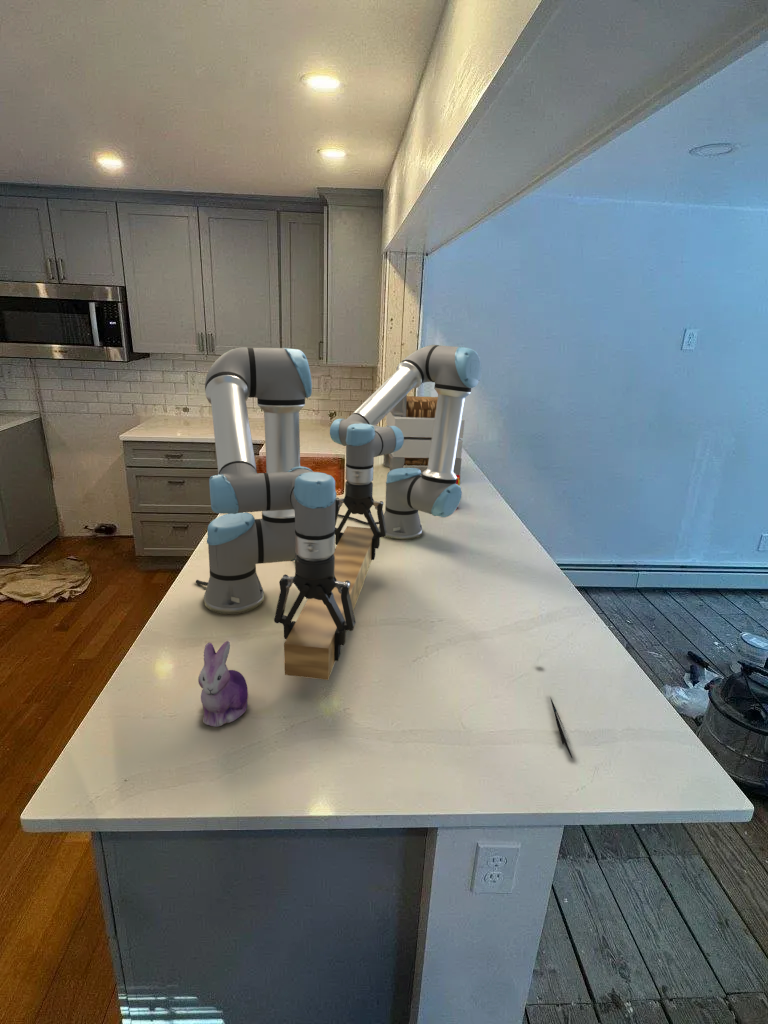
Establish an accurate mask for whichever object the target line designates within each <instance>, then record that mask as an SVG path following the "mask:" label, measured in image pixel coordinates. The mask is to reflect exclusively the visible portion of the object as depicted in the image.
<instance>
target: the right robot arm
mask: <svg viewBox="0 0 768 1024" xmlns="http://www.w3.org/2000/svg"><path fill="white" fill-rule="evenodd" d="M395 368H396V369H395V371H394V373H392V374H391V376H389V377H388V378H387V379H386V380H385V381H384V382H383V383H382V384H381V385H380V386H379V387H378V388H377V389H376V390H375V391H374V392H373V393H372V394H370V395H369V397H368V398H366V400H364V402H362V403H361V404H360V405H359V406H358V407H357V408H356V409H355V410H354V411H353V412H352V413H351V414H350V415H349V416H348V417H347V418H336V419H335V420H333V421H332V423H331V424H330V427H329V436H330V439H331V440H332V442H334V443H335V444H338V445H341V446H343V447H345V480H346V481H345V482H344V483H345V485H344V497H343V498H339V497H336V500H335V546H337V544H338V542H339V541H340V539H341V537H342V535H343V533H344V532H342V530H343V528H344V526H345V524H346V523H347V521H348V520H352V521H356V522H358V523H361V524H364V525H367V526H369V528H371V530H372V532H373V534H374V535H373V538H372V556H371V560H372V561H374V560H375V558H376V549H379V548H380V545H381V544H380V543H381V538H387V539H389V540H395V541H410V540H415V539H418V538H420V537H421V536H422V535H423V525H422V524H421V518H420V515H419V512H422V513H425V514H429V515H432V516H433V517H440V518H447V517H450V516H451V515H453V514H454V512H455V511H456V510H457V509H458V508H459V504H460V503H461V500H462V495H463V492H462V491H463V490H462V487H461V486H460V485H457V484H456V481H457V477H456V475H455V474H454V472H453V471H454V464H455V458H456V452H457V445H458V439H459V433H460V426H461V420H462V419H463V414H464V408H465V407H464V406H465V401H466V398H467V397H468V396H470V394H472V393H471V392H472V389H473V388H476V387H477V386H478V385H479V382H480V381H481V378H482V372H483V371H482V370H483V368H482V361H481V358H480V355H479V353H478V352H477V351H476V350H474V349H473V348H469V347H464V346H453V345H441V344H440V345H439V344H429V345H425V346H423V347H421V348H419V349H416V350H415V351H413V352H412V353H410V354H408V356H405V358H404V359H403V360H401V362H399V364H397V366H396V367H395ZM424 383H434V390H435V392H436V393H437V397H438V399H437V406H436V413H435V420H434V426H433V433H432V440H431V447H430V454H429V460H428V466H426V467H427V468H426V469H424V470H423V471H422V470H421V469H420V468H416V467H404V468H398V469H394V470H391V471H390V470H388V472H387V475H386V480H385V481H386V482H385V504H384V501H383V500H379V501H376V500H374V498H373V493H374V492H373V491H374V490H373V489H374V488H373V487H374V483H373V481H374V463H375V458H377V457H380V456H384V455H385V454H391V453H393V452H395V451H398V450H399V449H401V447H402V445H403V442H404V437H403V433H402V431H401V430H400V429H399V428H398V427H396V426H387V425H386V426H379V425H378V424H379V423H380V422H381V421H382V420H383V419H384V418H386V415H387V414H388V413H389V412H390V411H391V410H392V409H393V408H394V407H395V406H396V405H397V404H398V403H399V402H400V401H401V400H402V399H403V398H404V397H405V396H406V395H407V396H408V394H409V393H410V392H411V391H412V390H413V389H417V388H419V387H420V386H421V385H422V384H424ZM343 504H344V506H345V507H346V508H347V511H346V512H345V514H339V513H340V508H341V507H342V505H343ZM384 505H385V507H384ZM372 507H374V509H375V510H376V515H377V520H378V521H375V519H374V517H373V515H372V512H371V508H372ZM457 507H458V508H457ZM383 508H385V509H384V510H383ZM351 514H352V515H360V516H361V515H362V516H364V518H365V519H366V521H364V520H361V519H358V518H355V517H352V516H351ZM338 517H339V518H342V519H341V521H340V523H339V525H338V527H336V525H337V521H338ZM377 525H378V526H377Z"/></svg>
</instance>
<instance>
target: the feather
mask: <svg viewBox="0 0 768 1024" xmlns="http://www.w3.org/2000/svg"><path fill="white" fill-rule="evenodd" d="M539 669H541V666H540V667H539ZM549 697H550V702H551V706H552V710H553V714H554V718H555V722H556V726H557V729H558V732H559V737H560V740H561V744H562V745H564V746H565V748H566V750H567V751H568V753H569V755H570V757H571V758H573V756H572V753H571V750H570V748H569V745H570V747H572V744H571V740H569V741H568V742H567V740H566V739H567V738H569V735H567V732H566V727H564V723H563V721H562V720H561V717H560V715H559V713H558V710H557V708H556V706H555V704H554V702H553V699H552V697H551V696H549ZM566 735H567V738H566ZM568 743H569V744H568Z"/></svg>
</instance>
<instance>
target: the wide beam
mask: <svg viewBox="0 0 768 1024" xmlns="http://www.w3.org/2000/svg"><path fill="white" fill-rule="evenodd" d="M342 533H343V535H342V537H341V539H340V541H339V542H338V544H337V545H335V552H334V556H335V568H334V575H335V578H336V579H337V581H341V582H345V581H347V580H348V581H350V589H349V593H350V598H351V602H352V607H353V612H354V611H355V608H356V605H357V602H358V599H359V597H360V593H361V591H362V588H363V586H364V583H365V580H366V577H367V575H368V573H369V570H370V567H371V564H372V562H373V560H371V556H372V538H373V535H374V534H373V532H372V530H371V528H370V527H361V526H350V525H347V526H346V528H345V530H344V531H343V532H342ZM332 593H333V595H334V599H335V601H336V603H337V605H338V607H339V609H340V611H341V613H342V615H343V617H344V619H345V615H344V610H343V605H342V601H341V594H340V593H339V592H338V589H337V588H336V587H335V588H334V589H333V590H332ZM295 621H296V622H295V624H294V626H293V628H292V630H291V632H290V634H289V636H288V637H287V639H285V641H284V644H283V656H284V661H283V662H284V664H283V665H284V675H285V676H291V677H299V678H309V679H316V680H324V681H325V680H326V681H329V680H330V676H331V673H332V671H333V668H334V665H335V664H336V661H334V652H335V631H336V628H337V627H336V625H335V623H334V621H333V619H332V617H331V615H330V613H329V611H328V609H327V607H326V605H324V603H323V601H322V600H317V599H314V598H313V599H306V602H305V604H304V606H303V608H302V609H301V612H300V613H299V615H298V617H297V619H296V620H295ZM345 621H346V619H345Z"/></svg>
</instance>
